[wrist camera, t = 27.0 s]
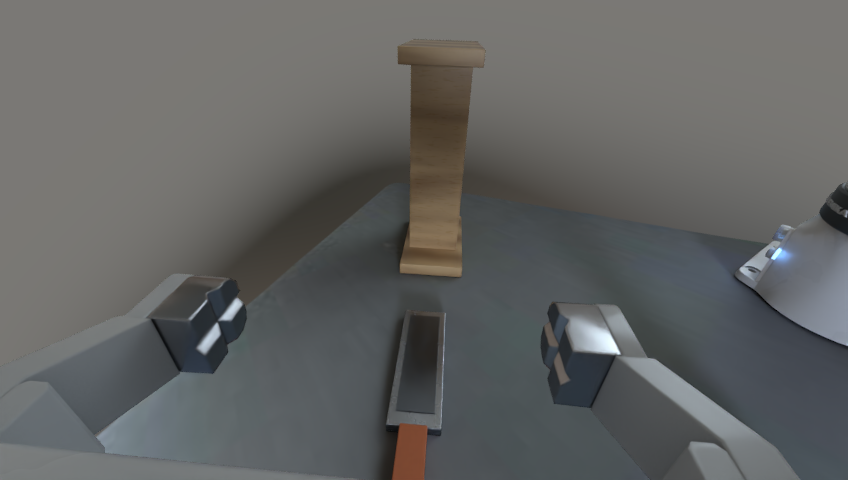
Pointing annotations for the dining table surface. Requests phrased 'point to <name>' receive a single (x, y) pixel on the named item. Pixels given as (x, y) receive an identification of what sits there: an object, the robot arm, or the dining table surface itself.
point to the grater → (417, 391)
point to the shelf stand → (437, 151)
